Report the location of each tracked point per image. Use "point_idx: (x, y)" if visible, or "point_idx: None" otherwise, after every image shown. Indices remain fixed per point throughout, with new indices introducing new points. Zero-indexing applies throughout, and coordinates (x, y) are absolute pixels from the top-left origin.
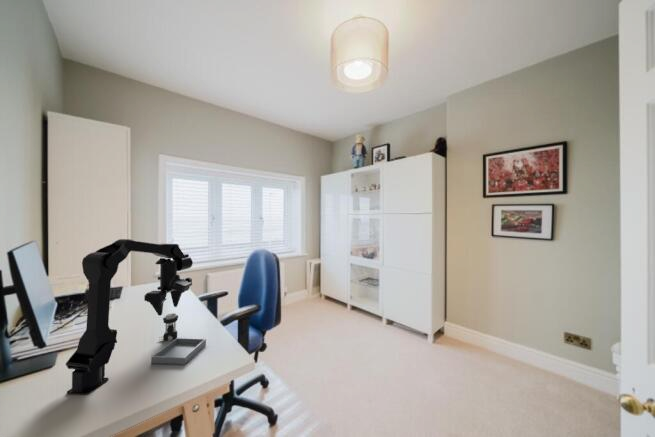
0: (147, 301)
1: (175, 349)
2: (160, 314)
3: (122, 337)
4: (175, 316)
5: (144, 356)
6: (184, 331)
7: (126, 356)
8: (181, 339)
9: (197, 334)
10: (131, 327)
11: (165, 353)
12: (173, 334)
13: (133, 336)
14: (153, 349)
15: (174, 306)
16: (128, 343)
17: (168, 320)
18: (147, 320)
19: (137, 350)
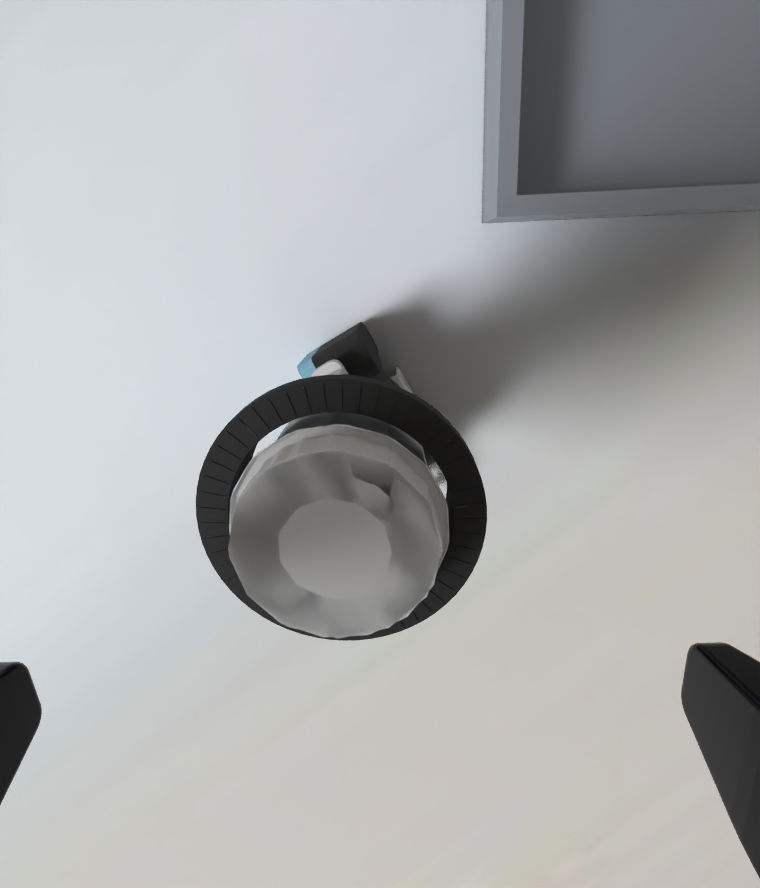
0: None
1: (653, 108)
2: (745, 672)
3: (385, 826)
4: (298, 441)
5: (736, 403)
6: (167, 361)
7: (714, 569)
8: (518, 119)
9: (201, 106)
10: (213, 884)
11: (743, 177)
12: (376, 362)
13: (359, 767)
14: (597, 417)
15: (34, 717)
16: (482, 717)
17: (475, 470)
18: (63, 866)
19: (610, 556)
